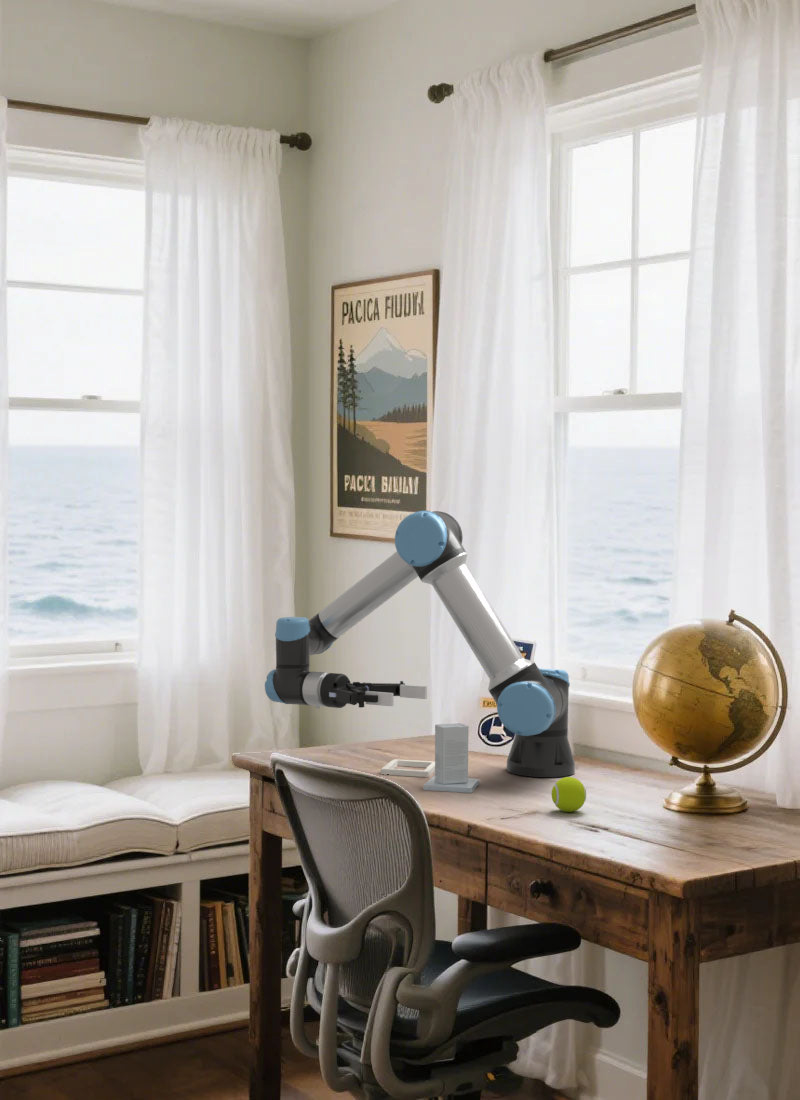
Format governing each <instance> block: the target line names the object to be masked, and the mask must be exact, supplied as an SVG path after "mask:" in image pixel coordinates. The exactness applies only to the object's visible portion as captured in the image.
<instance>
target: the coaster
mask: <svg viewBox="0 0 800 1100" xmlns="http://www.w3.org/2000/svg"><path fill="white" fill-rule="evenodd" d="M479 784H480V779H479V778H469V777H468V782H467V783H454V784H440V783H438V782H436V781H435V775H434V776H433V775H432V777H431V778H429V779H428V781H427V782H425V783H424V784H423V790H424V791H433V792H434V791H435V792H436V791H437V792H452V793H466V794H467V793H469V794H472V793H473V792H474V790H475V789H476V788H477V787H478V786H479Z"/></svg>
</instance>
